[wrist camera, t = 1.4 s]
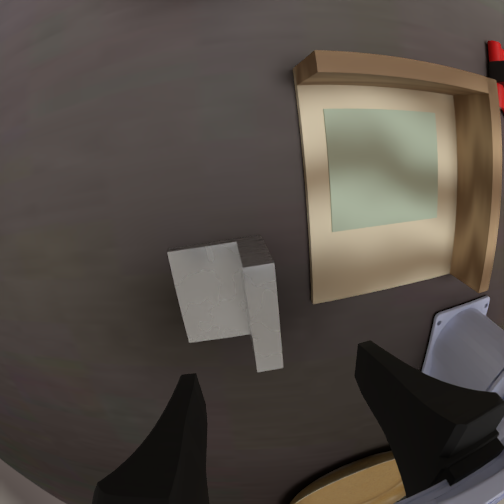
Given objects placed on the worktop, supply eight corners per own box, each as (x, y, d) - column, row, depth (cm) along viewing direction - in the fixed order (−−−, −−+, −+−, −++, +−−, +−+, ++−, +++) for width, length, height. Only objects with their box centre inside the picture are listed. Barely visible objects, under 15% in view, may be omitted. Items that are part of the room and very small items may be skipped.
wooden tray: (459, 270, 23) (487, 290, 19) (313, 304, 22) (331, 335, 18) (461, 83, 17) (496, 80, 14) (294, 67, 16) (314, 50, 13)
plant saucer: (269, 521, 38) (271, 536, 35) (301, 455, 30) (308, 477, 27) (388, 497, 42) (394, 509, 39) (450, 422, 34) (461, 436, 31)
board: (455, 268, 24) (459, 271, 23) (311, 300, 22) (313, 304, 22) (457, 83, 18) (462, 83, 17) (292, 68, 17) (294, 66, 16)
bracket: (269, 324, 23) (283, 367, 18) (189, 336, 22) (186, 381, 18) (260, 234, 20) (274, 262, 16) (168, 247, 20) (156, 280, 15)
